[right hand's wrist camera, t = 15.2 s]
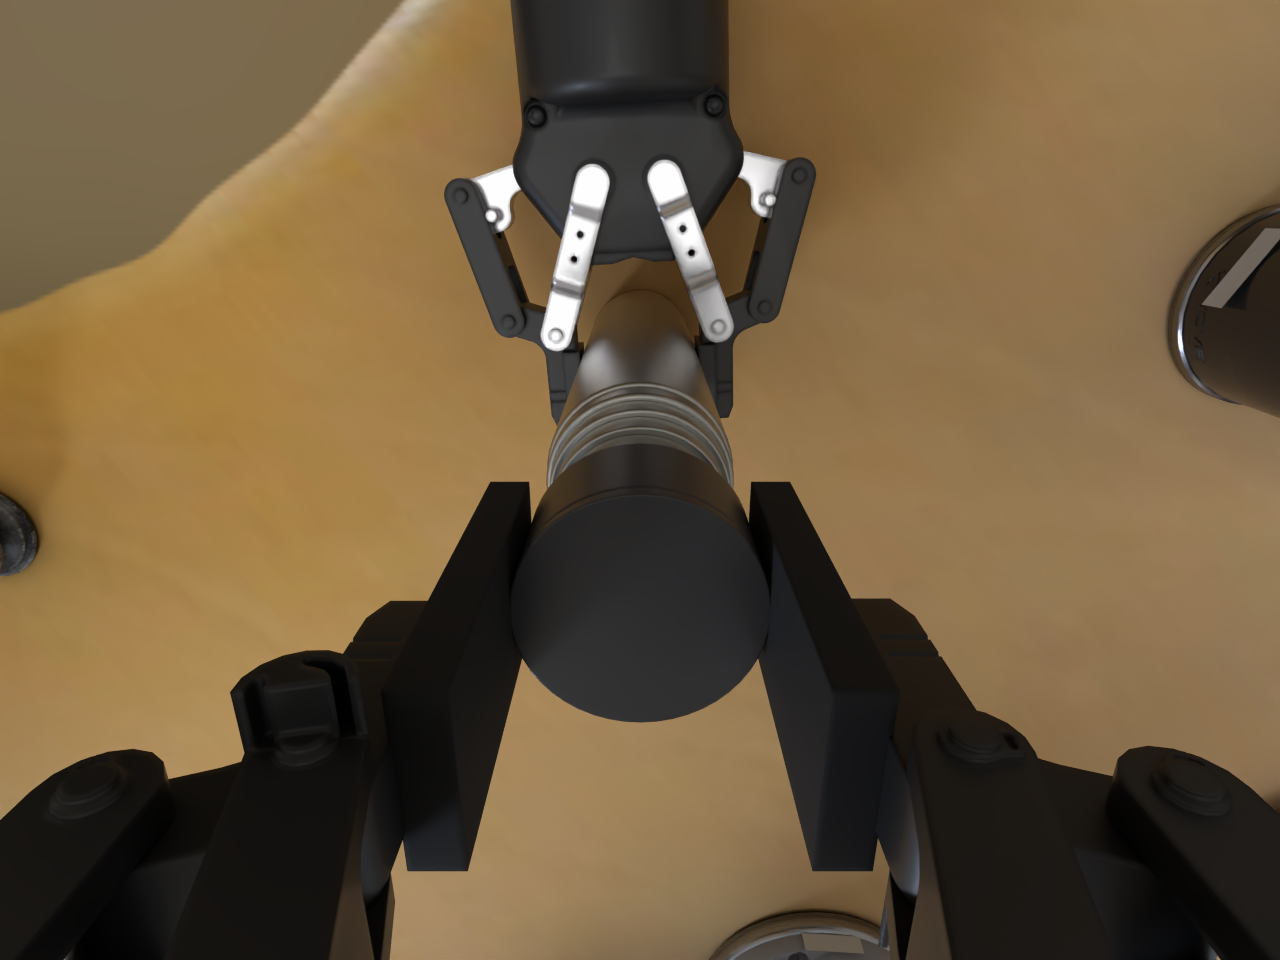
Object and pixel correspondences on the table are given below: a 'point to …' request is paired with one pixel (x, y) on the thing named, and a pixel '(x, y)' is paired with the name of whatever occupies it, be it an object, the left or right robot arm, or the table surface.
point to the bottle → (640, 389)
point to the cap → (640, 586)
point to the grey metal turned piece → (15, 538)
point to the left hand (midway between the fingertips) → (642, 429)
